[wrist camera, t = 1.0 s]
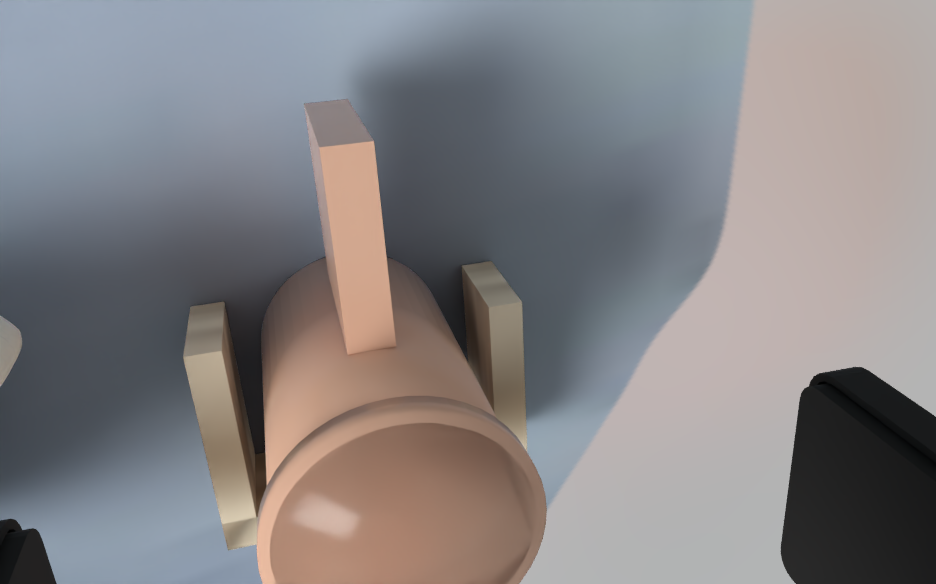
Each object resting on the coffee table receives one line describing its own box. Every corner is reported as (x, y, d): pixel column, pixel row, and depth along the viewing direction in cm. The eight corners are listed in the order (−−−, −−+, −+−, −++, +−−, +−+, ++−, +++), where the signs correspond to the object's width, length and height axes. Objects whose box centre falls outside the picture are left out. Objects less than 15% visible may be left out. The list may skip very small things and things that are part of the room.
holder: (190, 306, 30) (182, 357, 26) (491, 261, 32) (521, 302, 28) (229, 484, 33) (228, 550, 30) (499, 431, 35) (528, 487, 32)
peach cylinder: (206, 102, 27) (181, 211, 17) (429, 79, 29) (538, 165, 18) (270, 435, 33) (282, 678, 22) (454, 401, 34) (549, 613, 24)
